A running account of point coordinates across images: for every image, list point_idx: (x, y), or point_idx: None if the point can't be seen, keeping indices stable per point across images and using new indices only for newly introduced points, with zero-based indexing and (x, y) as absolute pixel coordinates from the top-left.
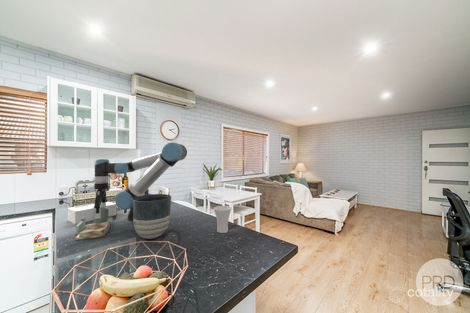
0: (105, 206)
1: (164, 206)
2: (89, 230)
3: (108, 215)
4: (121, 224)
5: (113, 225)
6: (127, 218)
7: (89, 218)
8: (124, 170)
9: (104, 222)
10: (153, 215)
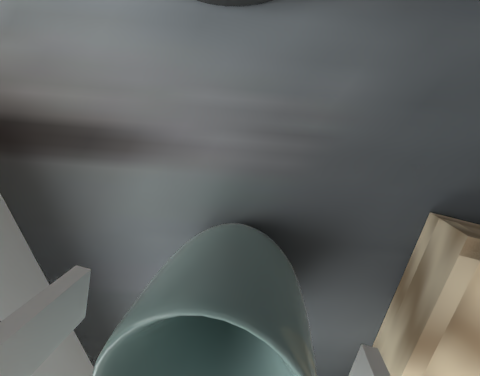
0: (18, 330)
1: None
2: (444, 369)
3: (238, 242)
4: (396, 93)
5: (371, 172)
6: (228, 1)
7: (58, 349)
8: None
9: (285, 254)
10: None
